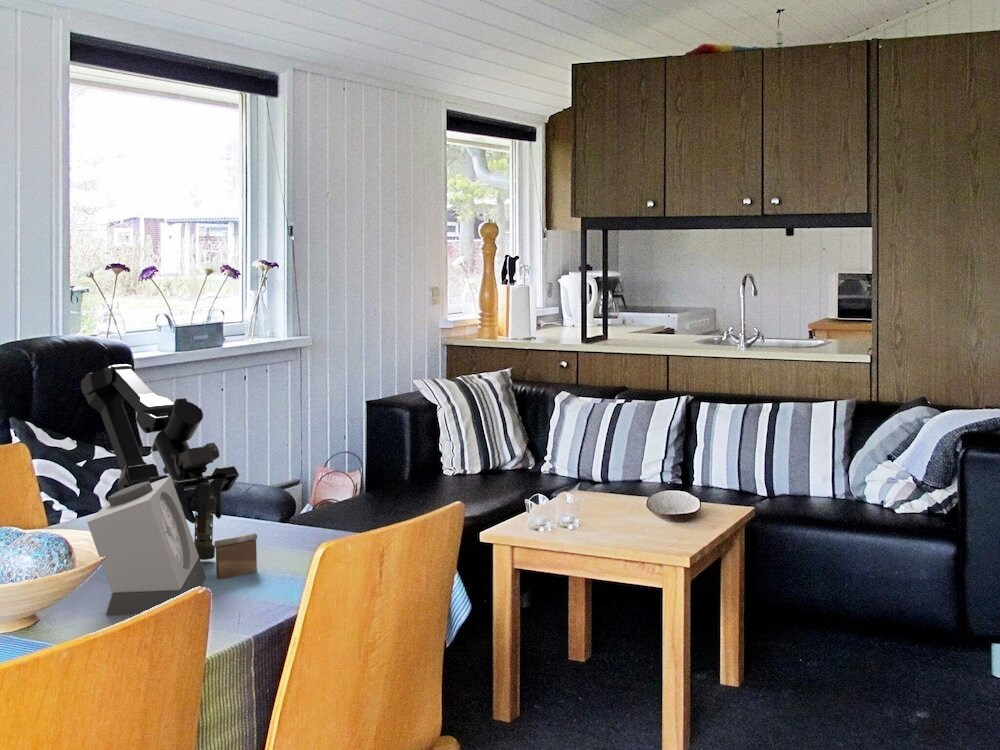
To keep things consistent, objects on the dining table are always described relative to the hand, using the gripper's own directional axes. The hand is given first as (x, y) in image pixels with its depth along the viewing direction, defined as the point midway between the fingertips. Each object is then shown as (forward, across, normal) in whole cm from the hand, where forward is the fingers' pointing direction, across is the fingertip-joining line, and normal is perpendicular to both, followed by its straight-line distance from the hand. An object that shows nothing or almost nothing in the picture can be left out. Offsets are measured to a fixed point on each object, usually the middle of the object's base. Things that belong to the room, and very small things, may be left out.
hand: (207, 519), depth 218 cm
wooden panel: (+13, 0, -1) cm, 13 cm away
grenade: (+5, -1, +7) cm, 8 cm away
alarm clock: (+14, -18, -2) cm, 23 cm away
